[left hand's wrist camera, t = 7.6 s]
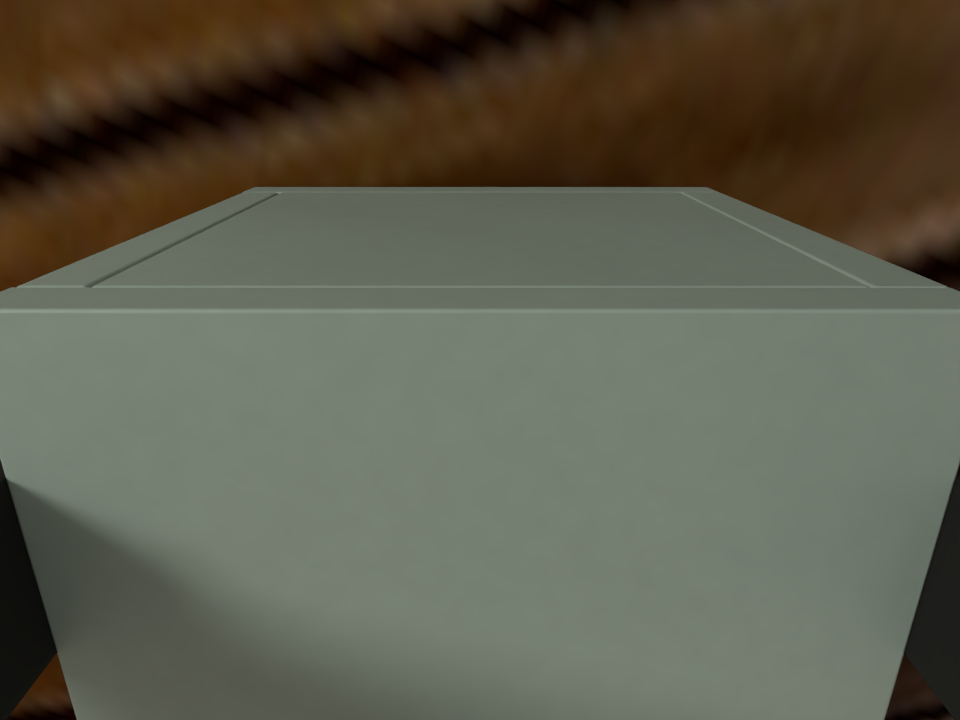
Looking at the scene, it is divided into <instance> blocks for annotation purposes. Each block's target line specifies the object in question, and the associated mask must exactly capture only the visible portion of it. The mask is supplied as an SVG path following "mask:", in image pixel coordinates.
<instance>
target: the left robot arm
mask: <svg viewBox="0 0 960 720" xmlns="http://www.w3.org/2000/svg"><path fill="white" fill-rule="evenodd" d="M56 653H57V650H56V647H55V643H54V640H53V636H52V633H51V630H50V626H49V623H48V619H47V616H46V612H45V609H44V606H43V602H42V599H41V595H40V592H39V589H38V585H37V582H36V578H35V575H34V572H33V568H32V565H31V561H30V558H29V555H28V551H27V548H26V544H25V541H24V538H23V534H22V531H21V527H20V524H19V521H18V517H17V514H16V510H15V507H14V504H13V500H12V497H11V493H10V490H9V487H8V483H7V480H6V476H5V473H4V469H3V466H2V463H1V459H0V720H6V719H7V718H8V716H9V715H10V714H11V712H12V711H13V710H14V708H15V707H16V706H17V704H18V703H19V702H20V701H21V699H22V698H23V697H24V695H25V694H26V693H27V691H28V690H29V689H30V687H31V686H32V685H33V683H34V682H35V681H36V679H37V678H38V677H39V675H40V674H41V673H42V671H43V670H44V669H45V668H46V666H47V665H48V664H49V662H50V661H51V660H52V658H53V657H54V656H55V654H56ZM904 653H905V655H906V656H907V657H908V659H909V660H910V661H911V663H912V664H913V665H914V667H915V668H916V669H917V670H918V672H919V673H920V674H921V676H922V677H923V678H924V680H925V681H926V682H927V684H928V685H929V686H930V688H931V689H932V690H933V692H934V693H935V694H936V696H937V697H938V698H939V699H940V701H941V702H942V703H943V705H944V706H945V707H946V709H947V710H948V711H949V713H950V714H951V715H952V717H953V718H954V719H955V720H960V465H959V468H958V472H957V475H956V478H955V482H954V485H953V489H952V492H951V495H950V499H949V502H948V506H947V509H946V512H945V516H944V519H943V523H942V526H941V529H940V533H939V536H938V540H937V543H936V546H935V550H934V553H933V556H932V560H931V563H930V567H929V570H928V573H927V577H926V580H925V584H924V587H923V590H922V594H921V597H920V601H919V604H918V607H917V611H916V614H915V618H914V621H913V624H912V628H911V631H910V635H909V638H908V641H907V645H906V648H905V652H904Z"/></svg>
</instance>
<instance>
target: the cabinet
mask: <svg viewBox="0 0 960 720" xmlns="http://www.w3.org/2000/svg"><path fill="white" fill-rule="evenodd" d="M0 459H1V463H2V466H3V469H4V473H5V476H6V480H7V483H8V487H9V490H10V493H11V497H12V500H13V504H14V507H15V510H16V514H17V517H18V521H19V524H20V527H21V531H22V534H23V538H24V541H25V544H26V548H27V551H28V555H29V558H30V561H31V565H32V568H33V572H34V575H35V578H36V582H37V585H38V589H39V592H40V595H41V599H42V602H43V606H44V609H45V612H46V616H47V619H48V623H49V626H50V630H51V633H52V636H53V640H54V643H55V647H56V650H57V653H58V657H59V660H60V664H61V667H62V670H63V674H64V677H65V681H66V684H67V687H68V691H69V694H70V698H71V701H72V704H73V708H74V711H75V715H76V718H77V720H884V719H885V716H886V713H887V709H888V706H889V702H890V699H891V696H892V692H893V689H894V685H895V682H896V679H897V675H898V672H899V668H900V665H901V662H902V658H903V655H904V652H905V648H906V645H907V641H908V638H909V635H910V631H911V628H912V624H913V621H914V618H915V614H916V611H917V607H918V604H919V601H920V597H921V594H922V590H923V587H924V584H925V580H926V577H927V573H928V570H929V567H930V563H931V560H932V556H933V553H934V550H935V546H936V543H937V540H938V536H939V533H940V529H941V526H942V523H943V519H944V516H945V512H946V509H947V506H948V502H949V499H950V495H951V492H952V489H953V485H954V482H955V478H956V475H957V472H958V468H959V465H960V292H959V291H957V290H954V289H952V288H948V287H947V286H944V285H942V284H940V283H937V282H935V281H932V280H930V279H928V278H925V277H923V276H920V275H918V274H915V273H913V272H911V271H908V270H906V269H903V268H901V267H899V266H896V265H894V264H891V263H889V262H886V261H884V260H882V259H879V258H877V257H874V256H872V255H870V254H867V253H865V252H862V251H860V250H857V249H855V248H853V247H850V246H848V245H845V244H843V243H841V242H838V241H836V240H833V239H831V238H828V237H826V236H824V235H821V234H819V233H816V232H814V231H811V230H809V229H807V228H804V227H802V226H799V225H797V224H795V223H792V222H790V221H787V220H785V219H782V218H780V217H778V216H775V215H773V214H770V213H768V212H766V211H763V210H761V209H758V208H756V207H753V206H751V205H749V204H746V203H744V202H741V201H739V200H737V199H734V198H732V197H729V196H727V195H724V194H722V193H720V192H717V191H715V190H712V189H710V188H707V187H254V188H252V189H249V190H247V191H244V192H243V193H241V194H239V195H236V196H234V197H231V198H229V199H227V200H224V201H222V202H219V203H217V204H215V205H212V206H210V207H207V208H205V209H203V210H200V211H198V212H195V213H193V214H191V215H188V216H186V217H183V218H181V219H179V220H176V221H174V222H171V223H169V224H166V225H164V226H162V227H159V228H157V229H154V230H152V231H150V232H147V233H145V234H142V235H140V236H138V237H135V238H133V239H130V240H128V241H126V242H123V243H121V244H118V245H116V246H114V247H111V248H109V249H106V250H104V251H102V252H99V253H97V254H94V255H92V256H90V257H87V258H85V259H82V260H80V261H78V262H75V263H73V264H70V265H68V266H66V267H63V268H61V269H58V270H56V271H53V272H51V273H49V274H46V275H44V276H41V277H39V278H37V279H34V280H32V281H29V282H27V283H25V284H22V285H20V286H18V287H17V288H9V289H7V290H4V291H2V292H0Z"/></svg>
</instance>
